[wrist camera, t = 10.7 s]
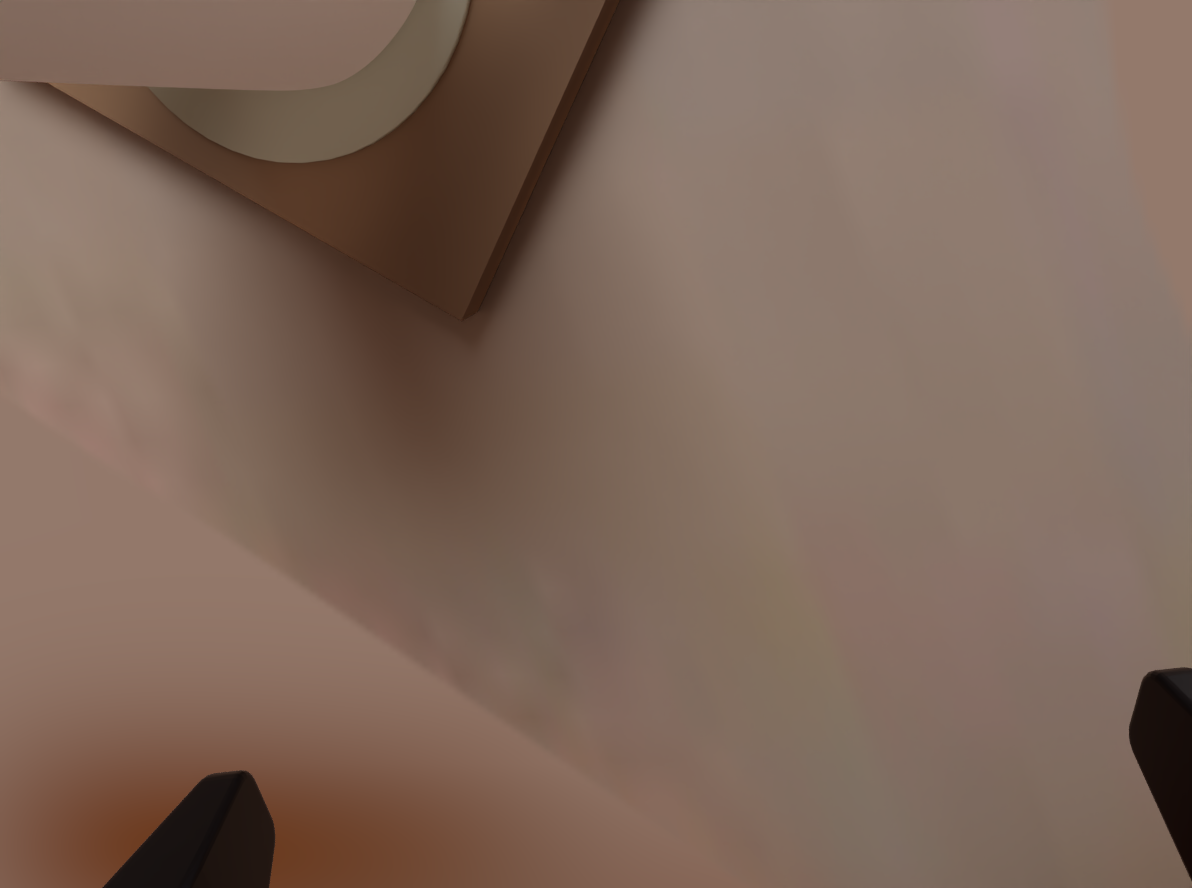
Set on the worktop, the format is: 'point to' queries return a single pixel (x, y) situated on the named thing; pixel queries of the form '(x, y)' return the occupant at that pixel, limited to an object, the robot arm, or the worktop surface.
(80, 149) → the worktop surface
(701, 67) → the worktop surface
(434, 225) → the coaster board
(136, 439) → the worktop surface
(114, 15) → the can
